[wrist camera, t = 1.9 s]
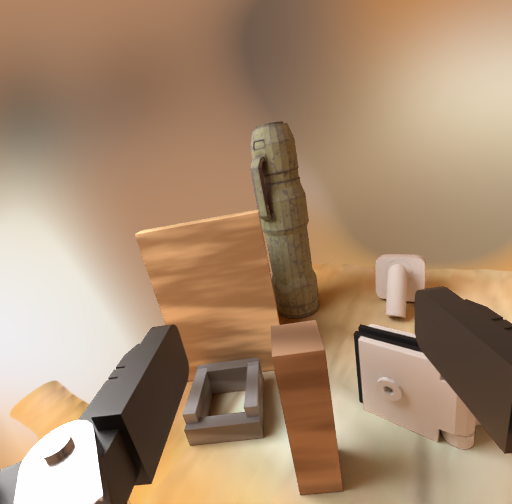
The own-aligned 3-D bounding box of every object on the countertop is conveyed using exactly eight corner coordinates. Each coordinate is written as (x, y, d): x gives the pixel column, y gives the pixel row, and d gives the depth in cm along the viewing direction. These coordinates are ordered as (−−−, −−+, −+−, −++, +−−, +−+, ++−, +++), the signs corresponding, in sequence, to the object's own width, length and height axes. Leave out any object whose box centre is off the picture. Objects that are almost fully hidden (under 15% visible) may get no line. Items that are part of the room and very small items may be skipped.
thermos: (265, 319, 55) (227, 131, 44) (290, 291, 64) (264, 129, 53) (306, 326, 50) (275, 118, 39) (327, 295, 59) (307, 118, 48)
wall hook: (368, 318, 48) (368, 262, 47) (378, 302, 57) (378, 253, 55) (422, 326, 44) (423, 264, 42) (424, 307, 52) (425, 254, 51)
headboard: (188, 372, 45) (141, 230, 37) (286, 359, 43) (258, 209, 36) (160, 448, 33) (84, 264, 25) (294, 434, 32) (255, 234, 24)
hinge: (501, 417, 29) (512, 338, 26) (517, 468, 25) (532, 381, 22) (362, 386, 36) (357, 320, 33) (355, 422, 32) (349, 350, 28)
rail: (293, 430, 32) (270, 311, 27) (328, 426, 32) (311, 305, 27) (300, 494, 26) (271, 356, 21) (343, 491, 26) (324, 349, 21)
